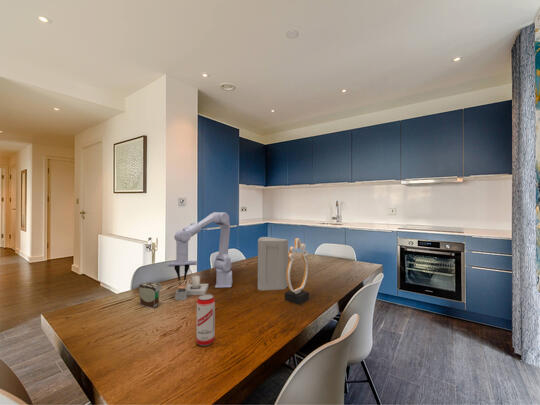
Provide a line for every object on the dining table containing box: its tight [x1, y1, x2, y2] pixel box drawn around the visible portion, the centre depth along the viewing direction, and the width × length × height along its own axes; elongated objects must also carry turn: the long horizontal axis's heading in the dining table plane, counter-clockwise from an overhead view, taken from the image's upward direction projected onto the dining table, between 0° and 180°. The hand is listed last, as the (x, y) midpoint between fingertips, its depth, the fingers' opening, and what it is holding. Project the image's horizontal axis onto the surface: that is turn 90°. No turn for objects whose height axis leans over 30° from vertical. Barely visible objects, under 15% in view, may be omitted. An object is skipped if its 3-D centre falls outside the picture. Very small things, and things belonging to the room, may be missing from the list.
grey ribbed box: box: [257, 236, 289, 291], centre depth 144 cm, size 19×15×28 cm
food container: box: [138, 281, 162, 309], centre depth 118 cm, size 12×6×10 cm, turn 65°
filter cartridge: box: [191, 275, 201, 289], centre depth 136 cm, size 4×4×8 cm
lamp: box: [284, 237, 310, 306], centre depth 125 cm, size 17×9×32 cm, turn 138°
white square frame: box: [185, 283, 209, 296], centre depth 136 cm, size 12×12×2 cm
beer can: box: [195, 293, 216, 347], centre depth 86 cm, size 6×6×16 cm
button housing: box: [174, 288, 189, 301], centre depth 126 cm, size 5×5×4 cm
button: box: [176, 284, 187, 292], centre depth 126 cm, size 4×4×4 cm
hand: (182, 279), depth 126 cm, fingers open, 2 cm apart
